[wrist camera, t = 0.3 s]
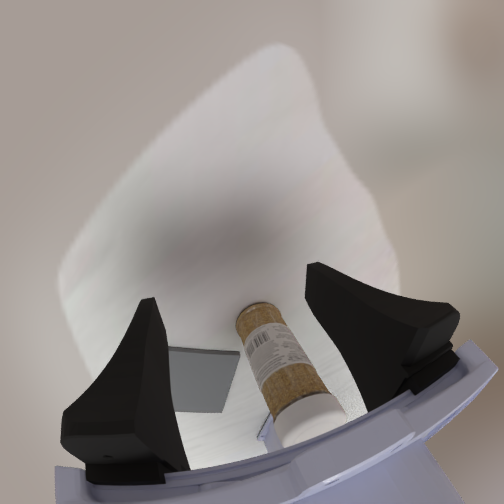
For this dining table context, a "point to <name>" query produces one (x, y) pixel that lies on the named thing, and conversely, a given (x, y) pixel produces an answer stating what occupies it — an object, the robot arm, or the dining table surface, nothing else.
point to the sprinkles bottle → (287, 377)
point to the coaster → (201, 378)
